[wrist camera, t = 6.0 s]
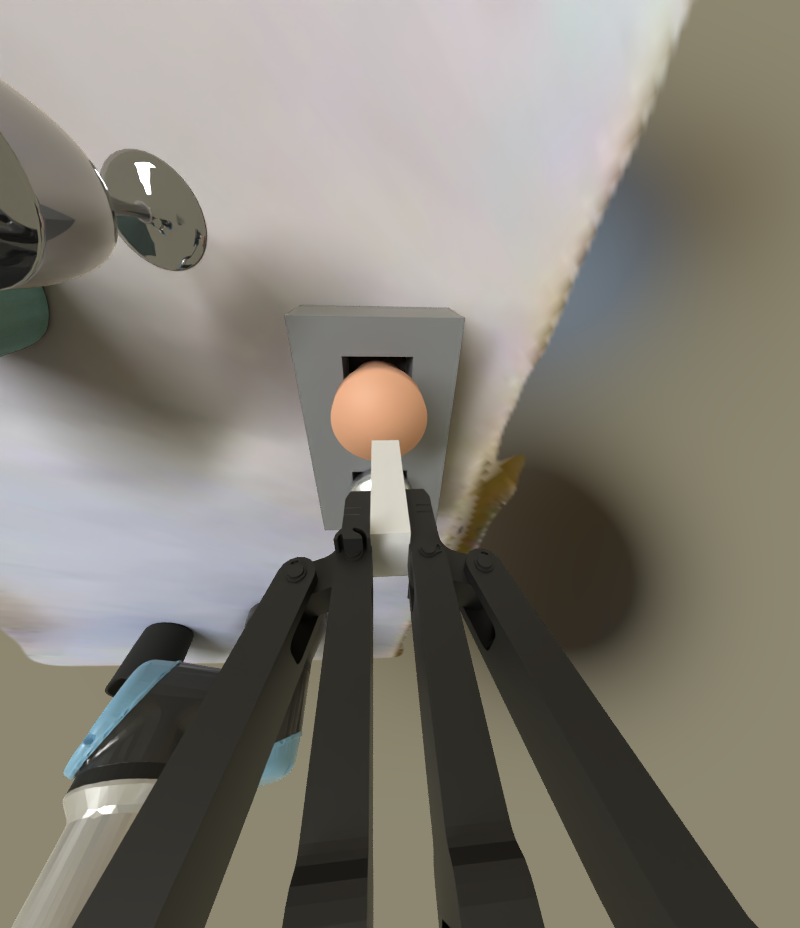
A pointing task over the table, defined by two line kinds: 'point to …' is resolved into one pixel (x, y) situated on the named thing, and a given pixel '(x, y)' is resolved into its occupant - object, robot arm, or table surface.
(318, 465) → the press console
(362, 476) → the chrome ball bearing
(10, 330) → the flower pot
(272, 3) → the table surface
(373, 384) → the peach rounded piece
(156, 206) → the wine glass
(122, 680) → the pen holder
